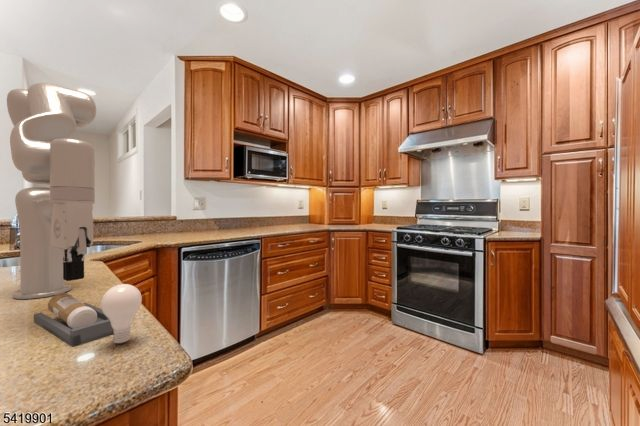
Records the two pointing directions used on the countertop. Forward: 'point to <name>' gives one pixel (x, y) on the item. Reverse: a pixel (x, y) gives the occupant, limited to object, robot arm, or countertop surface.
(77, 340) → the tray
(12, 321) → the countertop surface
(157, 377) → the countertop surface
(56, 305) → the sprinkles bottle
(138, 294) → the lightbulb
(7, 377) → the countertop surface
